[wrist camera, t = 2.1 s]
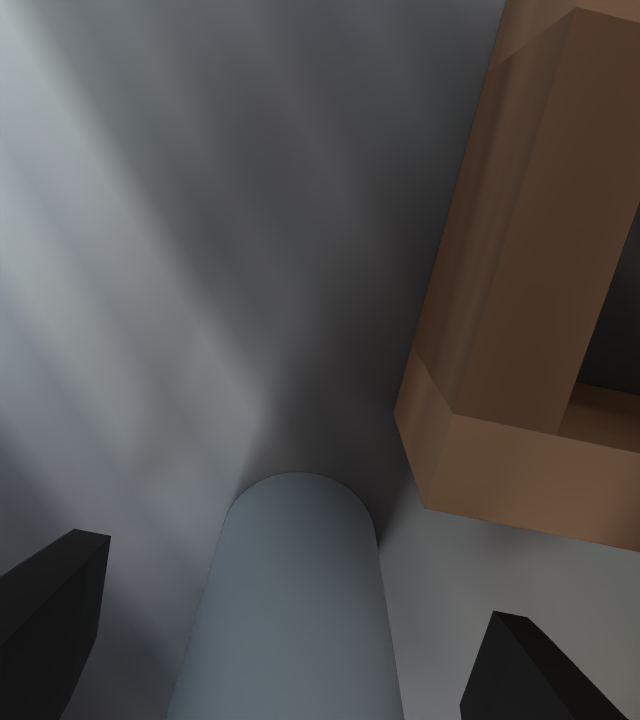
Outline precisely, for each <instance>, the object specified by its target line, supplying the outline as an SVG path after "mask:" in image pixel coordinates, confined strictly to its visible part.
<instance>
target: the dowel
mask: <svg viewBox="0 0 640 720" xmlns="http://www.w3.org/2000/svg"><path fill="white" fill-rule="evenodd" d="M165 720H404V714H403V708H402V701H401V695H400V689H399V682H398V676H397V670H396V663H395V657H394V650H393V644H392V638H391V631H390V625H389V619H388V612H387V606H386V599H385V593H384V587H383V580H382V574H381V568H380V561H379V555H378V549H377V542H376V536H375V530H374V526H373V522H372V519H371V517H370V514H369V512H368V511H367V509H366V507H365V505H364V504H363V503H362V502H361V500H360V499H359V498H358V497H357V496H356V495H355V494H354V493H353V492H352V491H351V490H349V489H348V488H347V487H345V486H344V485H342V484H341V483H339V482H337V481H335V480H333V479H331V478H328V477H326V476H322V475H318V474H314V473H307V472H289V473H282V474H277V475H273V476H270V477H268V478H265V479H263V480H261V481H259V482H257V483H255V484H253V485H252V486H250V487H249V488H248V489H246V490H245V491H244V492H243V493H242V494H241V495H240V496H239V497H238V498H237V499H236V501H235V502H234V503H233V505H232V506H231V508H230V509H229V511H228V514H227V516H226V518H225V521H224V525H223V528H222V531H221V535H220V538H219V541H218V545H217V548H216V551H215V555H214V558H213V561H212V565H211V568H210V571H209V575H208V578H207V581H206V585H205V588H204V591H203V595H202V598H201V601H200V605H199V608H198V611H197V615H196V618H195V621H194V625H193V628H192V631H191V635H190V638H189V641H188V645H187V648H186V651H185V655H184V658H183V661H182V665H181V668H180V671H179V675H178V678H177V681H176V685H175V688H174V691H173V695H172V698H171V701H170V705H169V708H168V711H167V715H166V718H165Z"/></svg>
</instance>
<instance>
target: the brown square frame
mask: <svg viewBox="0 0 640 720" xmlns="http://www.w3.org/2000/svg"><path fill="white" fill-rule="evenodd" d="M639 202H640V0H506V4H505V8H504V11H503V15H502V19H501V22H500V26H499V30H498V33H497V37H496V41H495V44H494V48H493V52H492V55H491V59H490V62H489V66H488V70H487V73H486V77H485V81H484V84H483V88H482V92H481V95H480V99H479V103H478V106H477V110H476V113H475V117H474V121H473V124H472V128H471V132H470V135H469V139H468V143H467V146H466V150H465V154H464V157H463V161H462V164H461V168H460V172H459V175H458V179H457V183H456V186H455V190H454V194H453V197H452V201H451V205H450V208H449V212H448V215H447V219H446V223H445V226H444V230H443V234H442V237H441V241H440V245H439V248H438V252H437V256H436V259H435V263H434V266H433V270H432V274H431V277H430V281H429V285H428V288H427V292H426V296H425V299H424V303H423V307H422V310H421V314H420V317H419V321H418V325H417V328H416V332H415V336H414V339H413V343H412V347H411V350H410V354H409V358H408V361H407V365H406V368H405V372H404V376H403V379H402V383H401V387H400V390H399V394H398V398H397V401H396V405H395V409H394V412H393V415H394V418H395V421H396V424H397V427H398V430H399V433H400V436H401V439H402V442H403V445H404V448H405V451H406V454H407V457H408V460H409V463H410V466H411V470H412V473H413V476H414V479H415V482H416V485H417V488H418V491H419V494H420V497H421V500H422V503H423V506H424V508H426V509H431V510H436V511H441V512H446V513H450V514H455V515H460V516H465V517H470V518H475V519H480V520H485V521H490V522H495V523H499V524H504V525H509V526H514V527H519V528H524V529H529V530H534V531H539V532H544V533H548V534H553V535H558V536H563V537H568V538H573V539H578V540H583V541H588V542H593V543H597V544H602V545H607V546H612V547H617V548H622V549H627V550H632V551H637V552H640V396H639V395H635V394H630V393H626V392H621V391H617V390H612V389H607V388H603V387H598V386H594V385H589V384H585V383H580V382H576V378H577V375H578V373H579V370H580V367H581V364H582V362H583V359H584V356H585V353H586V350H587V348H588V345H589V342H590V339H591V336H592V334H593V331H594V328H595V325H596V322H597V320H598V317H599V314H600V311H601V308H602V306H603V303H604V300H605V297H606V294H607V292H608V289H609V286H610V283H611V281H612V278H613V275H614V272H615V269H616V267H617V264H618V261H619V258H620V255H621V253H622V250H623V247H624V244H625V241H626V239H627V236H628V233H629V230H630V227H631V225H632V222H633V219H634V216H635V214H636V211H637V208H638V205H639Z"/></svg>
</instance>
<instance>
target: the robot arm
mask: <svg viewBox="0 0 640 720" xmlns="http://www.w3.org/2000/svg"><path fill="white" fill-rule="evenodd" d="M110 539H111V536H108V535H103V534H98V533H93V532H88V531H83V530H78V529H73V530H72V531H70V532H69V533H67V534H65V535H64V536H62V537H60V538H59V539H57V540H56V541H54V542H53V543H51V544H50V545H48V546H47V547H45V548H44V549H42V550H40V551H39V552H37V553H36V554H34V555H33V556H31V557H30V558H28V559H27V560H25V561H24V562H22V563H21V564H19V565H18V566H16V567H14V568H13V569H11V570H10V571H8V572H7V573H5V574H4V575H2V576H0V720H59V718H60V717H61V715H62V713H63V711H64V709H65V707H66V706H67V704H68V702H69V700H70V698H71V696H72V693H73V691H74V689H75V687H76V684H77V682H78V680H79V677H80V675H81V673H82V670H83V668H84V666H85V663H86V661H87V658H88V656H89V654H90V651H91V649H92V647H93V644H94V642H95V639H96V636H97V629H98V622H99V615H100V608H101V601H102V595H103V588H104V581H105V574H106V567H107V560H108V553H109V546H110ZM460 711H461V719H462V720H628V719H627V718H626V717H625V716H624V715H623V714H622V713H621V712H620V711H619V710H618V709H617V708H616V707H615V706H614V705H613V704H612V703H611V702H610V701H609V700H608V699H607V698H606V697H605V696H604V694H603V693H602V692H601V691H600V690H599V689H598V688H597V687H596V686H595V685H594V684H593V683H592V682H591V681H590V680H589V679H588V678H587V677H586V676H585V675H584V674H583V673H582V672H581V671H580V669H579V668H578V667H577V666H576V665H575V664H574V663H573V662H572V661H571V660H570V659H569V658H568V657H567V656H566V655H565V654H564V653H563V652H562V651H561V650H560V649H559V648H558V647H557V646H556V645H555V644H554V642H553V641H552V640H551V639H550V638H549V637H548V636H547V635H546V634H545V633H544V632H543V631H542V630H541V629H539V628H538V627H537V626H536V625H535V624H534V623H533V622H532V621H531V620H530V619H529V618H528V617H523V616H518V615H513V614H508V613H503V612H497V611H493V613H492V616H491V619H490V622H489V624H488V627H487V630H486V633H485V636H484V638H483V641H482V644H481V647H480V649H479V652H478V655H477V658H476V661H475V663H474V666H473V669H472V672H471V675H470V677H469V680H468V683H467V686H466V689H465V691H464V694H463V697H462V700H461V703H460Z"/></svg>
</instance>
